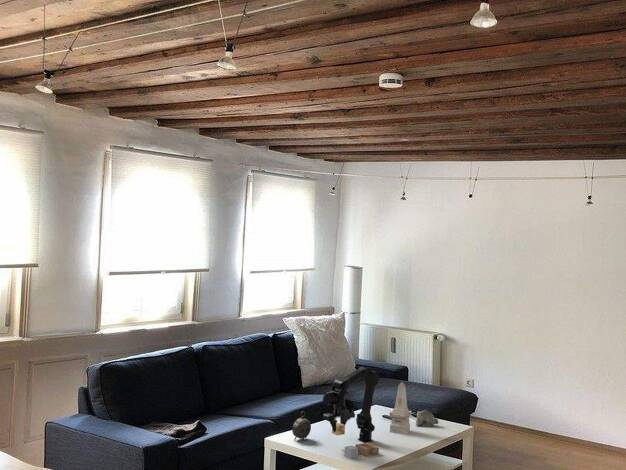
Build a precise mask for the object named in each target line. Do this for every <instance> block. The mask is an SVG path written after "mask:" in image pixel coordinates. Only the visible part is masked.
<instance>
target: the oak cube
mask: <svg viewBox="0 0 626 470" xmlns="http://www.w3.org/2000/svg"><path fill="white" fill-rule="evenodd" d="M345 432H346V424H345V425H344V424H341V423H340V422H337V423H336V431H335V432H334V431H333V429H332V428H331V433H332V435H335V436H343V435H345V434H346V433H345Z"/></svg>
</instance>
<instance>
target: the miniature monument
mask: <svg viewBox="0 0 626 470" xmlns="http://www.w3.org/2000/svg"><path fill="white" fill-rule="evenodd" d="M410 416H412V410H409V407H408V401H407V389H406V384H405V383H404V382H403V381H401V382H400V383H399V384H398V386H397V393H396V398H395V403H394V408H393V409H392V411H389V417H391V423H390V424H389V432H390V433H394V434H400V435H407V434H408V433H409V432H410V431H411V423H410Z"/></svg>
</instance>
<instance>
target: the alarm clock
mask: <svg viewBox="0 0 626 470" xmlns="http://www.w3.org/2000/svg"><path fill="white" fill-rule="evenodd" d="M303 412H304V415H302V413H303ZM305 416H306V411H305V410H303V411H301V412H300V417H299V418H297V419H296V420H295V421H294V423H293V424H292V428H291V431H292V432H291V433H292V434H293V436H294V437H295V438H294V439H293V440H294V441H296V439H300V440H303V441H305V439H307V437H308V436H309V435H310V432H311V430H312V425H311V422H310V421H309V419H307V418H305Z"/></svg>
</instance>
